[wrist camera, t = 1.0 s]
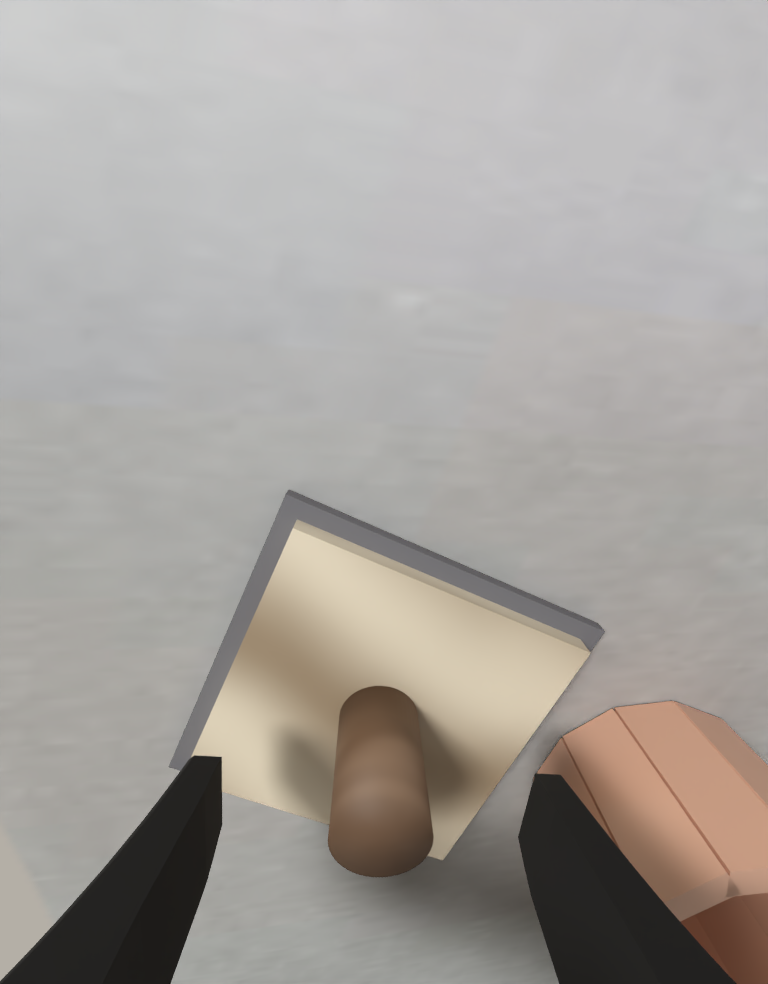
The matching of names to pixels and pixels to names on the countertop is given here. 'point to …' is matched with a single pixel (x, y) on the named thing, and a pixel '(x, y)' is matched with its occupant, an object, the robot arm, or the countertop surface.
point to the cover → (380, 701)
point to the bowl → (682, 819)
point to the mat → (383, 545)
